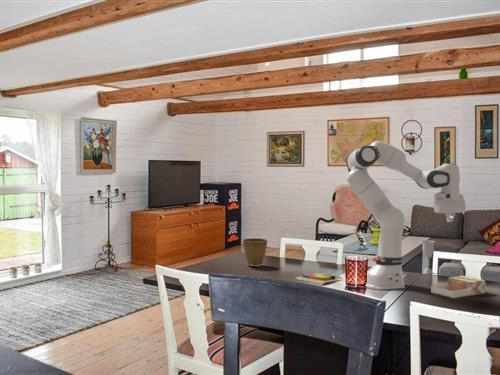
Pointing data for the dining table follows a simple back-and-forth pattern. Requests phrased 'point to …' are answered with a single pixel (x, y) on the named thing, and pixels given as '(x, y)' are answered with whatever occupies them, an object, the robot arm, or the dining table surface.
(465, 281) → the bench plate
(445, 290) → the box
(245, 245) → the plant pot
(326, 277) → the wooden puzzle
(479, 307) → the dining table surface
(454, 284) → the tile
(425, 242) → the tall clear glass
